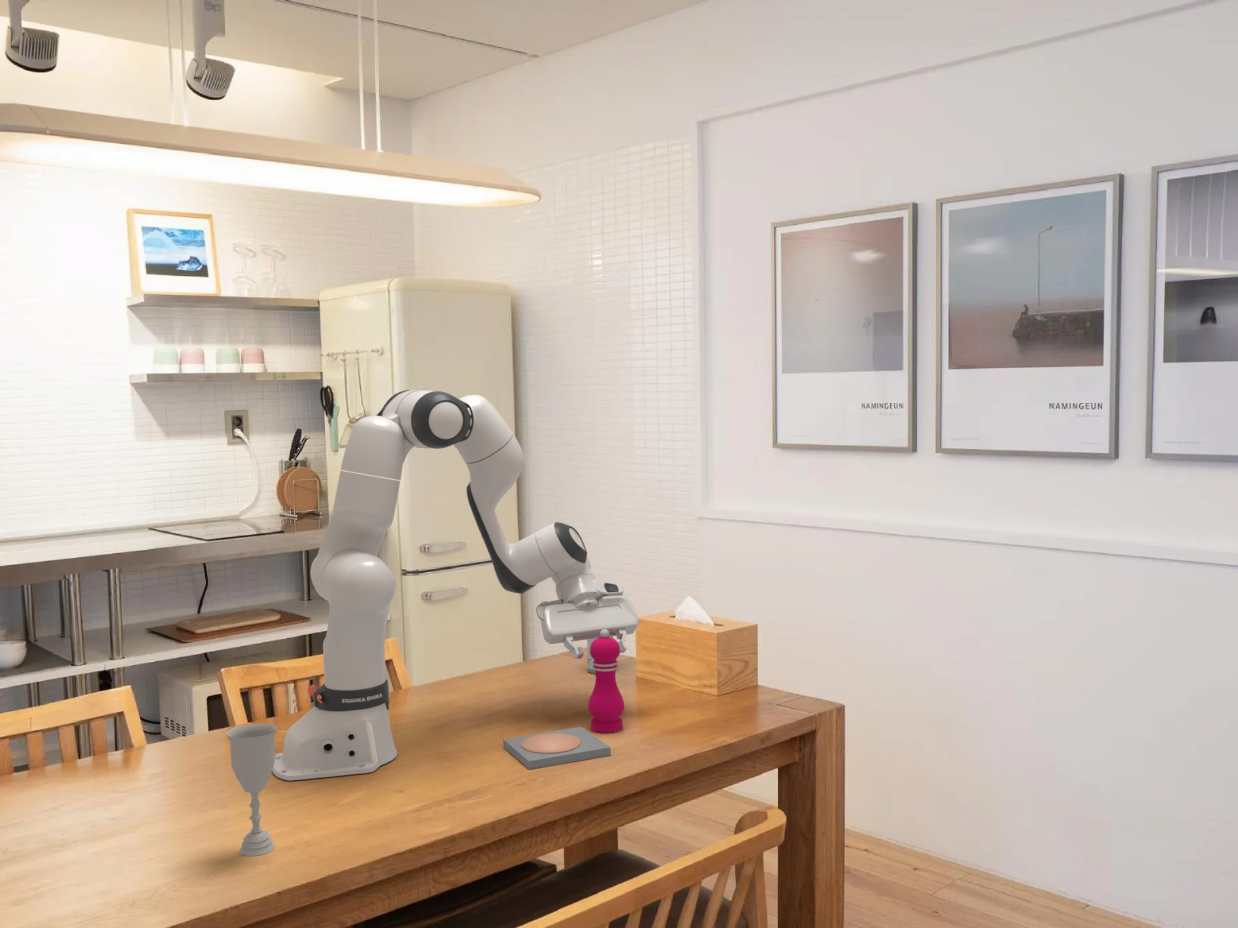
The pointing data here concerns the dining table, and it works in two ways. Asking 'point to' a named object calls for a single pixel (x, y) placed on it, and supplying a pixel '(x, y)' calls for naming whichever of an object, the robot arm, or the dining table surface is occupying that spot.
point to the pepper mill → (605, 686)
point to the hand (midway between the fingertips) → (601, 654)
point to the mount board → (556, 747)
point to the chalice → (253, 776)
